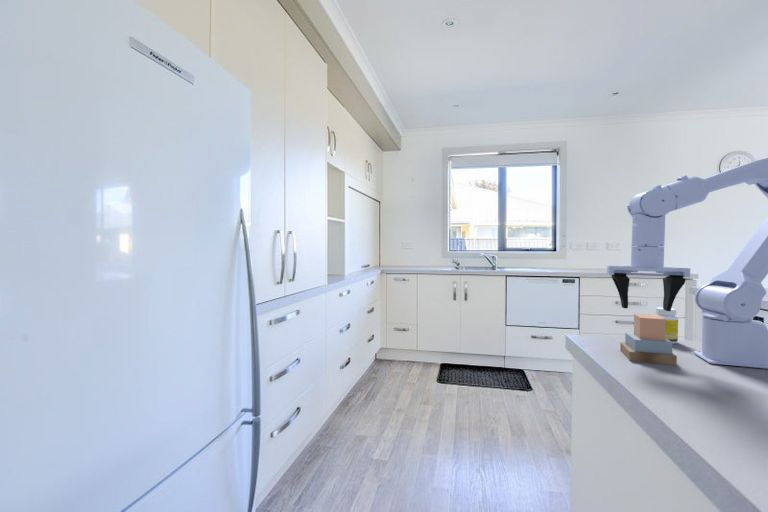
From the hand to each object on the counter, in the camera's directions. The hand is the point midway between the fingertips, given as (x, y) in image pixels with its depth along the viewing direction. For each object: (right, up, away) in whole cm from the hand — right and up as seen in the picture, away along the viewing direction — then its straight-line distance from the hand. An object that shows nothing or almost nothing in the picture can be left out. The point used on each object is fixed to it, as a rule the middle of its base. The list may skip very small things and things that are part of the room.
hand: (645, 309), depth 77 cm
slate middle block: (0, -9, 0) cm, 9 cm away
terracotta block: (0, -6, -1) cm, 6 cm away
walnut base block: (0, -11, 0) cm, 11 cm away
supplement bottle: (+14, -10, +12) cm, 21 cm away
